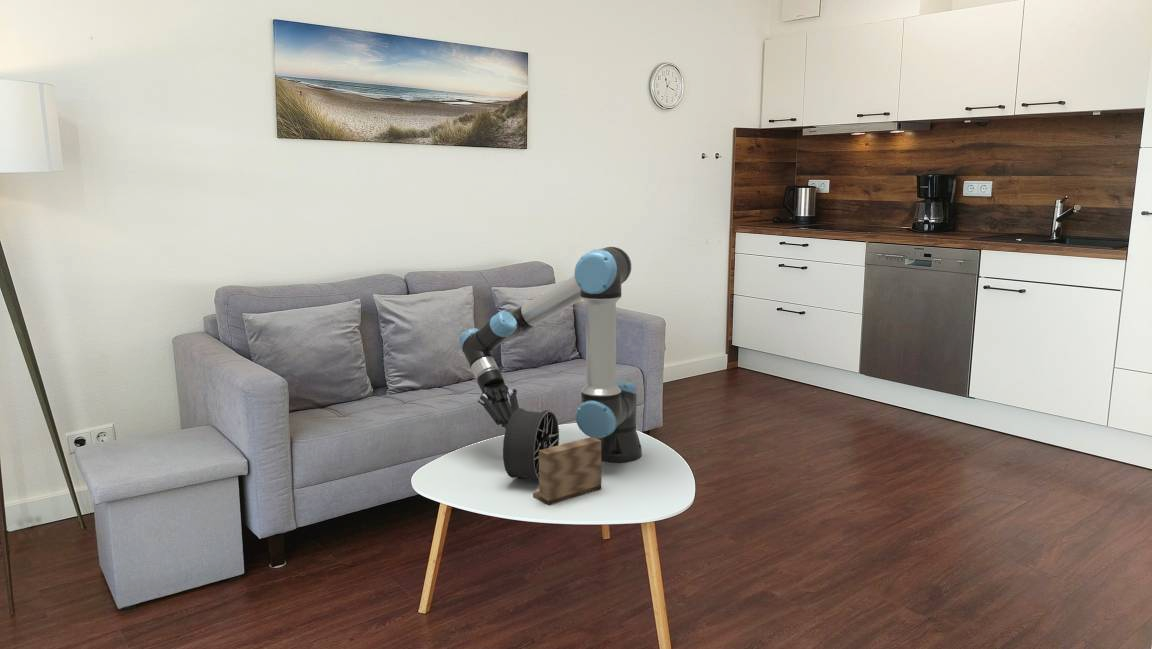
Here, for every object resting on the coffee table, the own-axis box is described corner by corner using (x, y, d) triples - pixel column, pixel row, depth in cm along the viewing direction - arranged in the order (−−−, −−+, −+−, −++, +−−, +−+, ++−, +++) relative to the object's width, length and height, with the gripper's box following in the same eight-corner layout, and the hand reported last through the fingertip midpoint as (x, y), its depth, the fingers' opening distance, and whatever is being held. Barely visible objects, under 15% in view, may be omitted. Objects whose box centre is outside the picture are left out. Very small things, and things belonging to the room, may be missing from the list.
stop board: (585, 481, 231) (585, 434, 229) (601, 489, 226) (601, 440, 224) (533, 497, 221) (532, 447, 218) (548, 505, 215) (547, 454, 213)
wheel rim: (534, 492, 224) (533, 422, 220) (503, 488, 227) (501, 418, 223) (559, 467, 243) (558, 402, 239) (530, 464, 245) (529, 400, 242)
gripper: (501, 378, 254) (532, 443, 244) (464, 385, 247) (495, 453, 237) (510, 365, 249) (542, 431, 239) (473, 371, 241) (504, 440, 231)
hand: (519, 442), depth 238 cm, fingers closed
